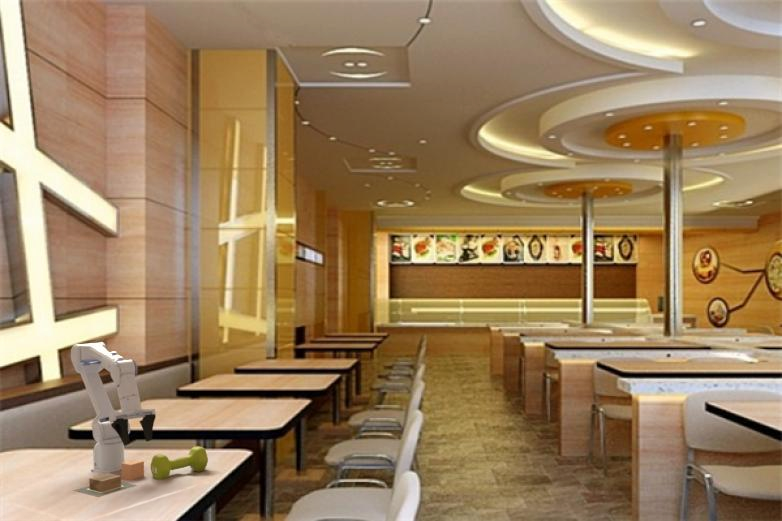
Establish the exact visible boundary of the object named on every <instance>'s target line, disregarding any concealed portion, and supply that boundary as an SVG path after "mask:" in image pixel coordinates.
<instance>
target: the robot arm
mask: <svg viewBox="0 0 782 521" xmlns="http://www.w3.org/2000/svg"><path fill="white" fill-rule="evenodd" d="M70 360H71V361H70V362H71V363H72V366H73V368H74V371H75V372H76V373H78V374H80V377H81V379H82V381H83V382H82V383H83V384H84V386H85V389H86V392H87V394H88V396H89V398H90V401H91V404H92V406H93V409H94V412H95V413H96V416H95V417H94V418H93V420H92V422H91V430H92V437H93V439H94V441H95V442H96V443H95V445H94V446H93V455H92V456H93V460H92V461H93V467H92V468H90V470H91V471H93V472H97V471H98V472H102V473H105V474H108V473H110V474H111V473H114V472H117V471H120V470H121V471H122V463H124V462H125V446H127V445H128V444H130V442H131V440H130V433H131V425H130V422H129V420H133V419H140V418H142V420H139V424H140V426H141V429H142V431H143V435H144V439H145V442H149V441H152V440H153V428H154V423H155V420H156V418H157V417H156V416H157V415H156V410H155V408H148V409H147V408H144V409H143V407H142V403H141V398H140V393H139V388H138V382H137V379H136V377H137V375H138V364H137V361H135V359H134V358H130V359H125V358H124V357H123V356H121V355H119V354H118V352H117V351H109V350H107V346H106V344H105V343H104V342H103V341H99V342H90V343H81V344H80V343H79V344H78V343H75V344H73V345H72V347H71V349H70ZM103 369H105V370H106V371H108V372H109V373H110V374H109V375H110V378H111V380H112V381H113V384H114V386H115V387H116V390H117V395H118V400H119V404H120V410H121V412H120V411H118V410H116V409H114V408H113V405H112V402H111V400H110V397H109V396H108V393H107V390H106V389H105V385H104V383H103V381H102V378H101V377H100V374H99V373H100V372H101V371H103Z"/></svg>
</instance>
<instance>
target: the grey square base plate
mask: <svg viewBox="0 0 782 521" xmlns="http://www.w3.org/2000/svg"><path fill="white" fill-rule="evenodd" d="M136 486H138V485H137V484H132V483H128V482H124V481H121V487H118V488H115V489H111V490H108V491H104V492H99V491H95V490H91V489H89V485H88V486H85V487H81V488H77V489H74V490H73V491H74V492H76V493H81V494H85V495H89V496H93V497H97V498H101V497H103V496H104V497H105V496H106V495H110V494H113V493H117V492H119V491H124V490H127V489H130V488H132V487H133V488H134V487H136Z"/></svg>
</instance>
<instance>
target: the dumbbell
mask: <svg viewBox="0 0 782 521" xmlns="http://www.w3.org/2000/svg"><path fill="white" fill-rule="evenodd" d="M208 462H209V458H208V454H207V451H206V448H204V447H202V446H198V445H197V446H193V447H192V448H190V450H189V453H188V456H182V457H177V458H173V459H169V458H168V457H167V455H165V454H161V453H160V454H155V455H153V457H152V459H151V462H150V471H151V475H152V477H153V478H154V479H156V480H165V479H167V478H169V476H170V474H171V471H174V470H175V471H176V470H179V469H183V468H186V467H187V468H188V467H190V469H191V470H192V471H193V472H203V471H205V470H206V468H207V466H208Z"/></svg>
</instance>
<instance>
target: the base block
mask: <svg viewBox="0 0 782 521" xmlns="http://www.w3.org/2000/svg"><path fill="white" fill-rule="evenodd" d="M88 480H89V482H88V483H89V484H88V486H89V489H91V490H95V491H99V492H104V491H108V490H111V489H115V488H118V487H121V482H122V475H118V474H114V473H111V472H110V473H105V474H101V475H97V476H93V477H89V479H88Z"/></svg>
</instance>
